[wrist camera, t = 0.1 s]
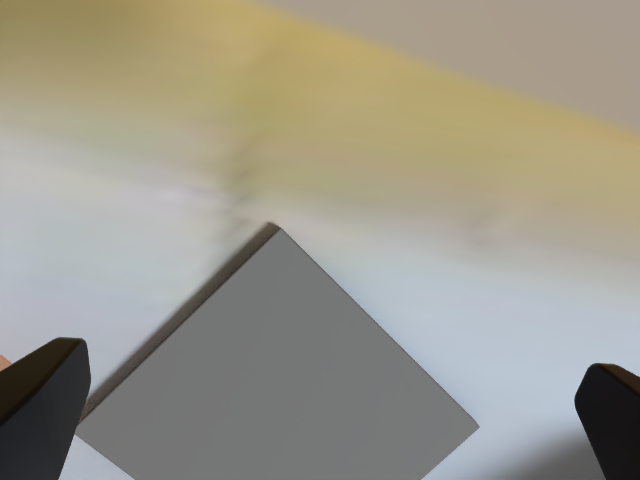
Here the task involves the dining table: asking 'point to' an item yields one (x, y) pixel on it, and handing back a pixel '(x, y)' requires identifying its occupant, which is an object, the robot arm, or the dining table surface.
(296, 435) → the mat
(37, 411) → the robot arm
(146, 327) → the dining table surface
